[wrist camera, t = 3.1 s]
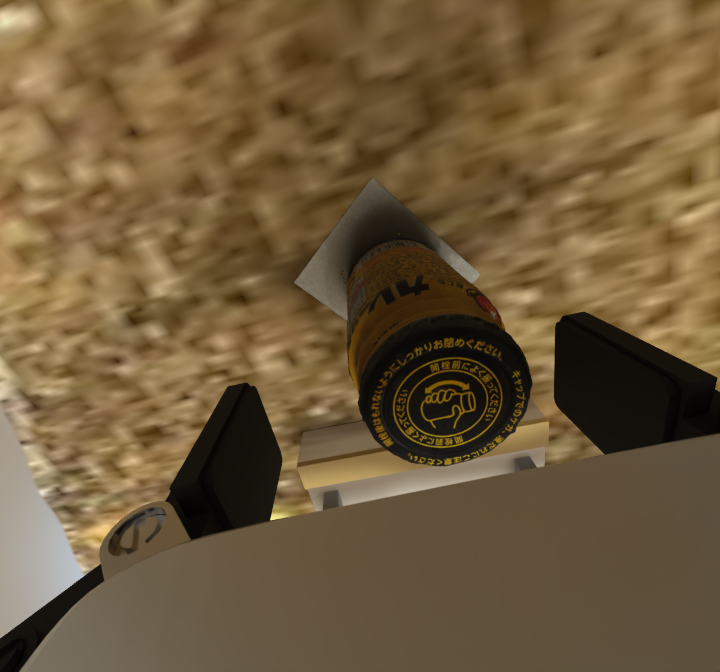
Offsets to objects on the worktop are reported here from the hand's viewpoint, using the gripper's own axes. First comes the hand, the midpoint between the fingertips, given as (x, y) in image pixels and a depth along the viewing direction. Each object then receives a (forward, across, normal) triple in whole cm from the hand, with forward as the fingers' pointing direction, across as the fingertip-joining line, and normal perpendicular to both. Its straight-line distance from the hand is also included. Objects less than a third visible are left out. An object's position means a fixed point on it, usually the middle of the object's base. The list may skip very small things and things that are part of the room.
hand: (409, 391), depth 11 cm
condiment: (+12, -1, -1) cm, 12 cm away
